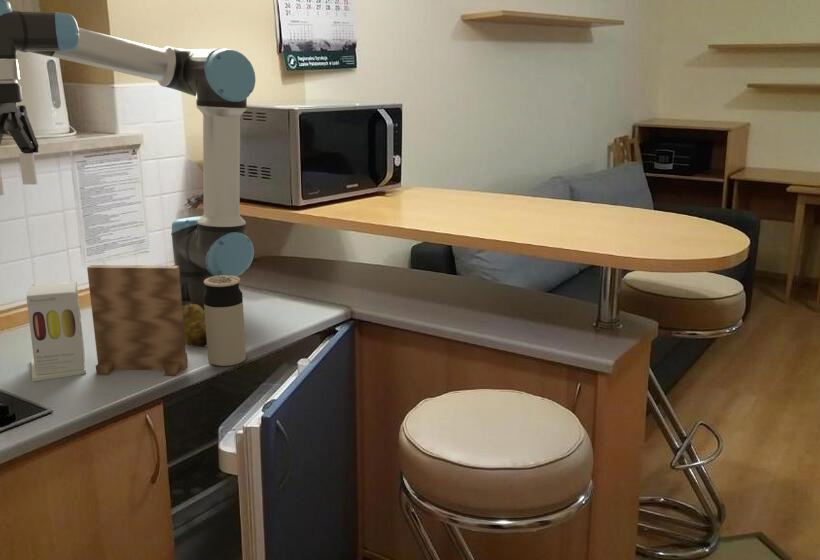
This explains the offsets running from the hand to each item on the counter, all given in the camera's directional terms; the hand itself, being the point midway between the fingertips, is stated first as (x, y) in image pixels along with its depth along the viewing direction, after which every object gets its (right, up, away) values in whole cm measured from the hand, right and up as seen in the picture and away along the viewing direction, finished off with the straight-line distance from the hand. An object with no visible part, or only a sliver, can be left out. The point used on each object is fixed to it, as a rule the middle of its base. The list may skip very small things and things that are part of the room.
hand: (13, 189), depth 161 cm
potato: (+32, -33, +20) cm, 50 cm away
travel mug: (+42, -36, +9) cm, 56 cm away
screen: (+25, -37, +4) cm, 45 cm away
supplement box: (+8, -36, +4) cm, 37 cm away
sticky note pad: (+7, -37, +5) cm, 38 cm away
